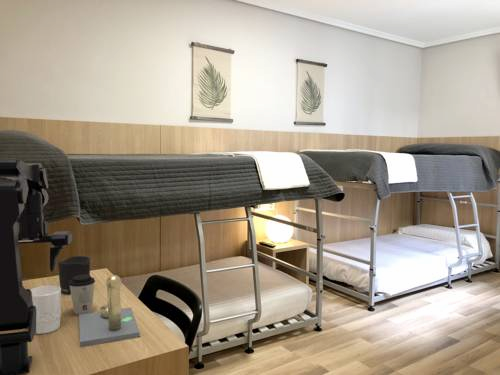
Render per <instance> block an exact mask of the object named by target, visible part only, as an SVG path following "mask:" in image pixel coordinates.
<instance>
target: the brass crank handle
mask: <svg viewBox="0 0 500 375" xmlns="http://www.w3.org/2000/svg"><path fill="white" fill-rule="evenodd" d="M121 285H122V279H121V278H120V276H119V275H116V274H112V275H109V276H108V277H107V278H106V281H105V287H106V289H107V304H105V305H102V306H101V307H100V312H101V317H103V318H108V326H109V329H110V330H116V329H119V328H121V309H122V308H121V304H122V303H121V302H122V301H121Z"/></svg>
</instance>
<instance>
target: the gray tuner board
mask: <svg viewBox="0 0 500 375" xmlns="http://www.w3.org/2000/svg"><path fill="white" fill-rule="evenodd" d="M78 316H79V317H78V318H79V321H78V322H79V347H80V348H81V347H87V346H92V345H99V344H105V343H111V342H118V341H123V340H129V339H136V338H140V337H141V336H140V335H141V332H140V330H139V327H138V323H137V320H136V319H135V315H134V311H133V309H132V307H126V308H125V307H124V308H121V328H119V329H116V330H110V329H109V326H108V318H103V317H101V311H97V312H90V313H88V314H81V315H78Z"/></svg>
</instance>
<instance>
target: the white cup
mask: <svg viewBox="0 0 500 375" xmlns="http://www.w3.org/2000/svg"><path fill="white" fill-rule="evenodd" d="M29 289H30V288H29ZM30 290H31V292H32V300H33V306H36V334H37V335H44V334H49V333H52V332H55V331H57V330H58V329H59V328H61V327H60V326H61V316H62V315H61V314H62V312H61V310H62V292H61V287H60V285H55V284H54V285H51V284H50V285H41V286H37V287H32V288H31V289H30ZM36 334H35V335H36Z"/></svg>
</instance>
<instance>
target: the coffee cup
mask: <svg viewBox="0 0 500 375" xmlns="http://www.w3.org/2000/svg"><path fill="white" fill-rule="evenodd" d="M95 283H96V280H95V277H92V276H91V274H90V275H89V274H81V275H77V276H74V277H73V278H72V280H70V281H69V283H68V284H69V285H70V291H71V294H70V296H71V301H72V302H71V303H72V307H73V313H74V314H75V315H77V316H79V315H81V314H88V313H92V311H93V303H94V302H93V301H94V292H95V290H94V289H95Z"/></svg>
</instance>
